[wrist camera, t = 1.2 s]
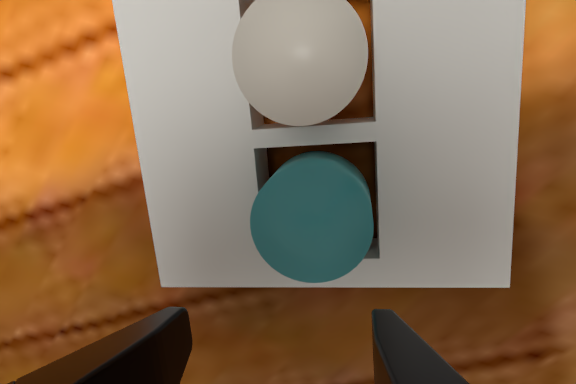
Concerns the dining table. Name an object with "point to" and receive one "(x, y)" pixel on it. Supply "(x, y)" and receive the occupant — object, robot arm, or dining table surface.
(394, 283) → the keypad
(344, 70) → the key ivory
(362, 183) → the key teal
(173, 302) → the dining table surface
